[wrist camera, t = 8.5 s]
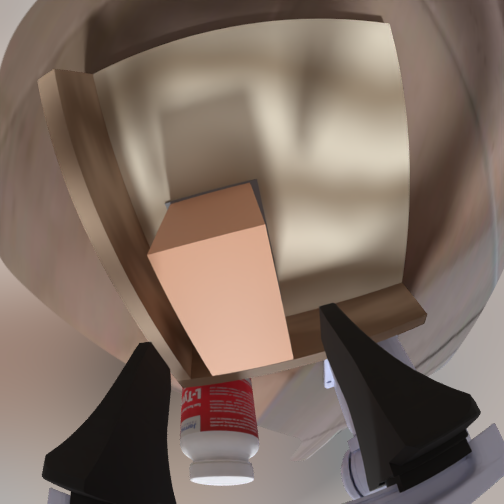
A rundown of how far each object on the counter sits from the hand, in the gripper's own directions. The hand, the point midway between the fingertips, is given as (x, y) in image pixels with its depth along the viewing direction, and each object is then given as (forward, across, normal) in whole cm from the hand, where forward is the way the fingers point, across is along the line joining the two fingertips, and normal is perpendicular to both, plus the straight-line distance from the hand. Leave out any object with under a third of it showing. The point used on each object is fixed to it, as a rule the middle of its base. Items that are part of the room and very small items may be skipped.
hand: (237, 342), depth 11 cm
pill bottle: (+8, +5, +12) cm, 15 cm away
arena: (+8, -3, -3) cm, 9 cm away
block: (+7, 0, 0) cm, 7 cm away
